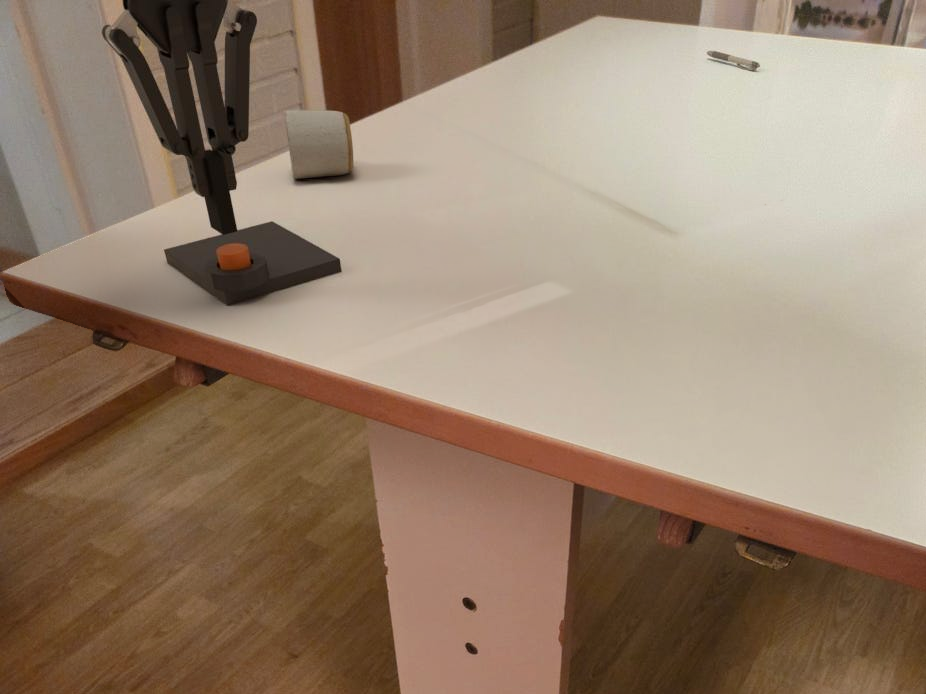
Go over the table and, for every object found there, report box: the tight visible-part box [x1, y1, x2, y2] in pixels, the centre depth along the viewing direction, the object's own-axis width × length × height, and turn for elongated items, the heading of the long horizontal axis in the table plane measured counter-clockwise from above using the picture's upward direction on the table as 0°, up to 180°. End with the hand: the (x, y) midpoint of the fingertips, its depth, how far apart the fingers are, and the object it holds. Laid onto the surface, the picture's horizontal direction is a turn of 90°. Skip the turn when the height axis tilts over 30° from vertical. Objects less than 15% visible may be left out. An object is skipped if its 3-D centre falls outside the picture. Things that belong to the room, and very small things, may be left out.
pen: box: [706, 50, 761, 71], centre depth 153 cm, size 1×14×1 cm, turn 28°
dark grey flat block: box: [163, 220, 342, 307], centre depth 91 cm, size 16×14×3 cm
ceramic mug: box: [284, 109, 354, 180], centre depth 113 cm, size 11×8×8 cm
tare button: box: [217, 243, 251, 271], centre depth 85 cm, size 3×3×2 cm
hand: (224, 228), depth 83 cm, fingers closed
